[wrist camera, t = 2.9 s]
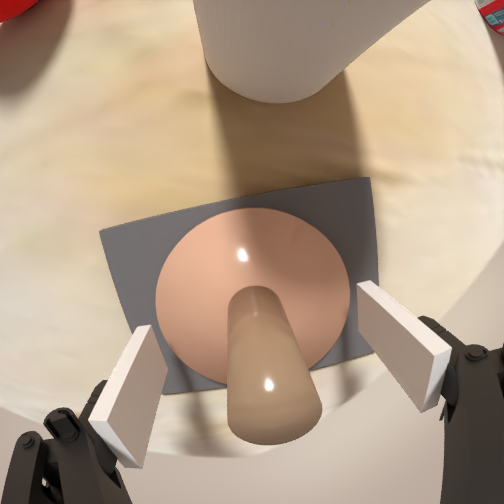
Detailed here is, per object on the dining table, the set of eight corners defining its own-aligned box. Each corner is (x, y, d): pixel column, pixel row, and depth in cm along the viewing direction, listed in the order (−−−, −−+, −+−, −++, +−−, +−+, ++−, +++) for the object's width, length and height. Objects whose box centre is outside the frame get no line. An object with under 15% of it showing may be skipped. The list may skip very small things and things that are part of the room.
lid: (189, 386, 18) (173, 498, 9) (138, 229, 15) (46, 289, 6) (346, 354, 18) (405, 452, 9) (332, 191, 16) (439, 211, 7)
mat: (160, 389, 19) (158, 394, 18) (103, 229, 16) (98, 231, 15) (374, 346, 19) (377, 350, 19) (365, 177, 16) (369, 177, 15)
